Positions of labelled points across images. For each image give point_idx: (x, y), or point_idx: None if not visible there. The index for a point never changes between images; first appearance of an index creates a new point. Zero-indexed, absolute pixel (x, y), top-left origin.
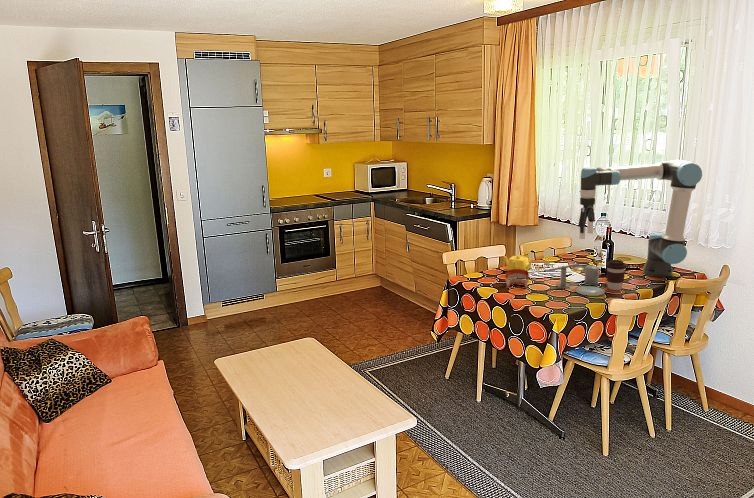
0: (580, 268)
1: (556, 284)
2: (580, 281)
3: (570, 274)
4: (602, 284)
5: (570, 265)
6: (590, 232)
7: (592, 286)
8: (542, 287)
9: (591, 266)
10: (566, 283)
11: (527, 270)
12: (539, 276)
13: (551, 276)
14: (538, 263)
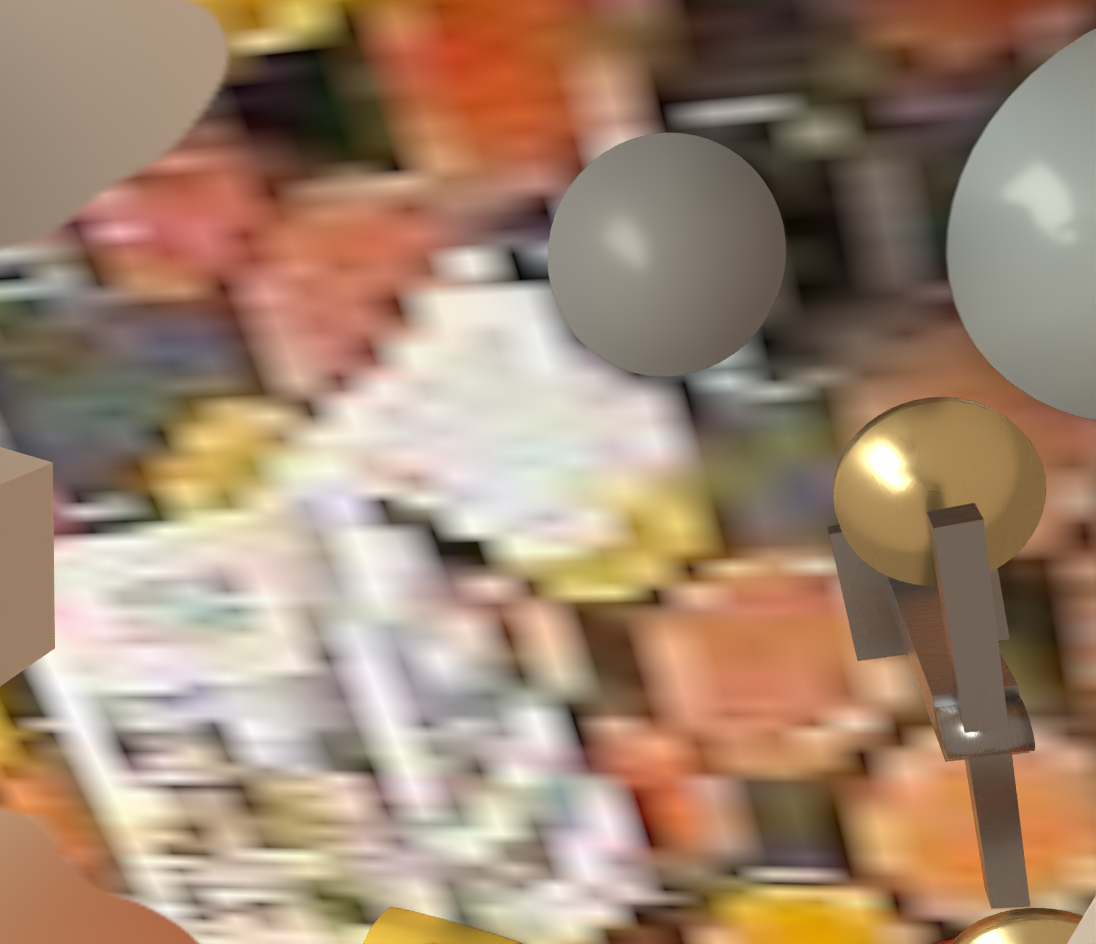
0: (931, 458)
1: (863, 653)
2: (642, 382)
3: (387, 509)
4: (707, 79)
5: (982, 651)
6: (16, 560)
7: (955, 207)
8: None
9: (599, 274)
10: (837, 549)
11: (436, 927)
12: (570, 815)
13: (532, 702)
14: (125, 818)
